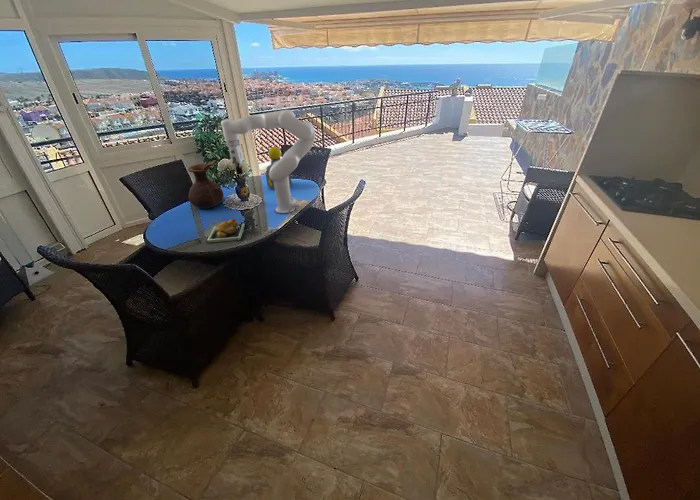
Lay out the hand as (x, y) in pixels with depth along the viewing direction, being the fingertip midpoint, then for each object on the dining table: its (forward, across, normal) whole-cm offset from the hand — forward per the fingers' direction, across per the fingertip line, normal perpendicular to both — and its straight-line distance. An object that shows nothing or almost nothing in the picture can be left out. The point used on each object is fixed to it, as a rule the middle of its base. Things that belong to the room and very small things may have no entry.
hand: (240, 173), depth 179 cm
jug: (+25, +15, +28) cm, 41 cm away
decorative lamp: (+25, +42, -18) cm, 52 cm away
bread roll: (+25, -29, +8) cm, 39 cm away
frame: (+25, -28, +8) cm, 38 cm away
